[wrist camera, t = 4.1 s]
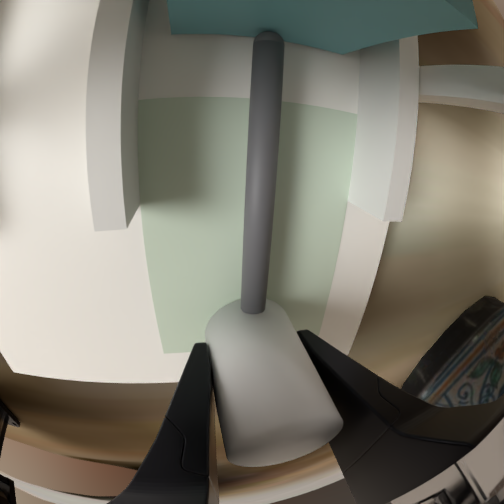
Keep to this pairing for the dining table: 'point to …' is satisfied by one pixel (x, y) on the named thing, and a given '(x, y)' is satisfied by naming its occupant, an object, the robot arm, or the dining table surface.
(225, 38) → the shelf
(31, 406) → the dining table surface
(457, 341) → the beer stein
